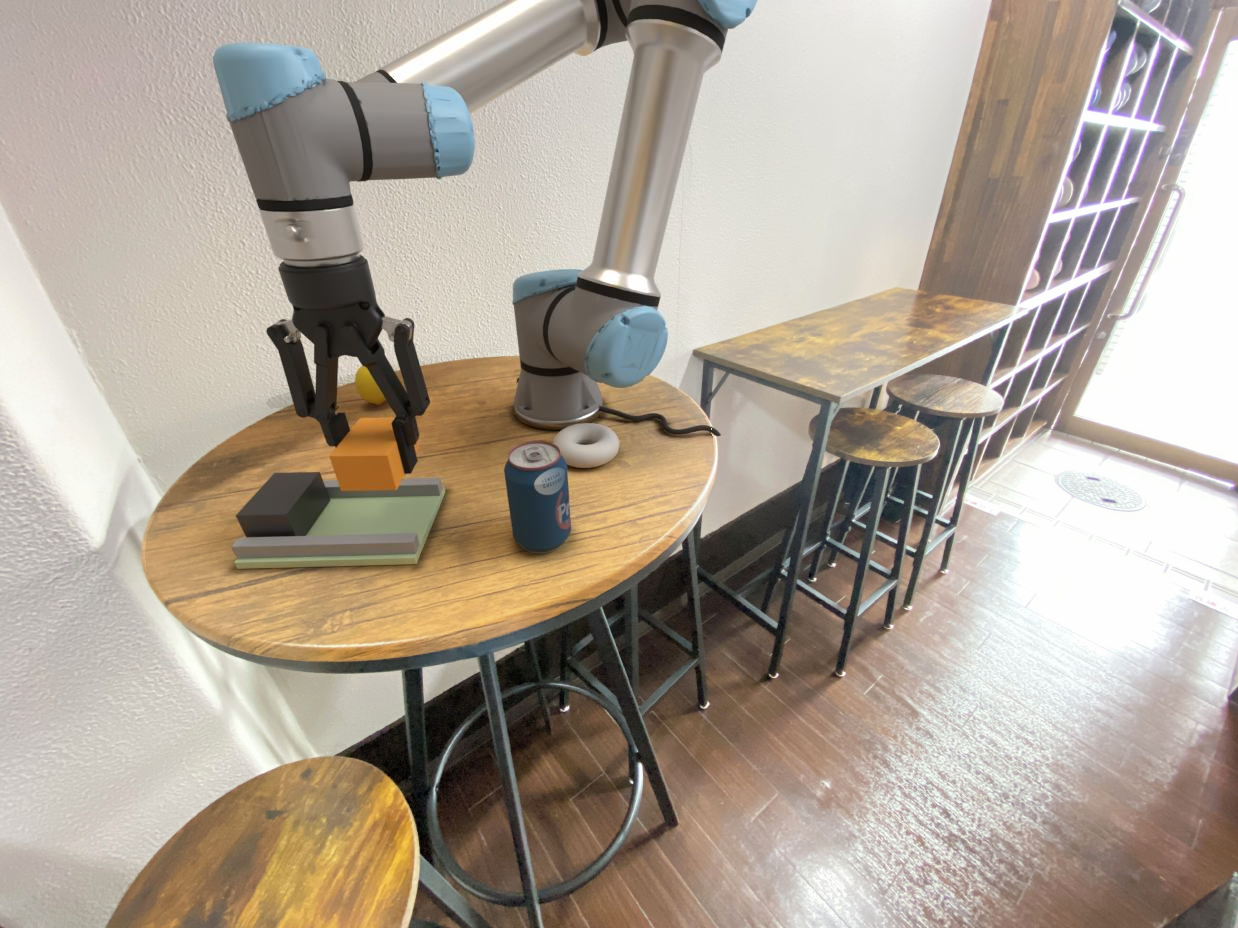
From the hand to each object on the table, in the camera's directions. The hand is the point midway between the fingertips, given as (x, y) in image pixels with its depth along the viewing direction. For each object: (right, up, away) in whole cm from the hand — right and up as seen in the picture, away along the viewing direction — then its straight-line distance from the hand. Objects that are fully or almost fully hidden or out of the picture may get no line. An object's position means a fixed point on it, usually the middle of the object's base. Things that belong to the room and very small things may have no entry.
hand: (381, 467), depth 62 cm
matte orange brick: (0, 0, 0) cm, 0 cm away
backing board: (-6, -7, +5) cm, 11 cm away
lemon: (-15, +11, +33) cm, 38 cm away
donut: (+23, +2, +19) cm, 29 cm away
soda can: (+18, -9, +3) cm, 20 cm away
